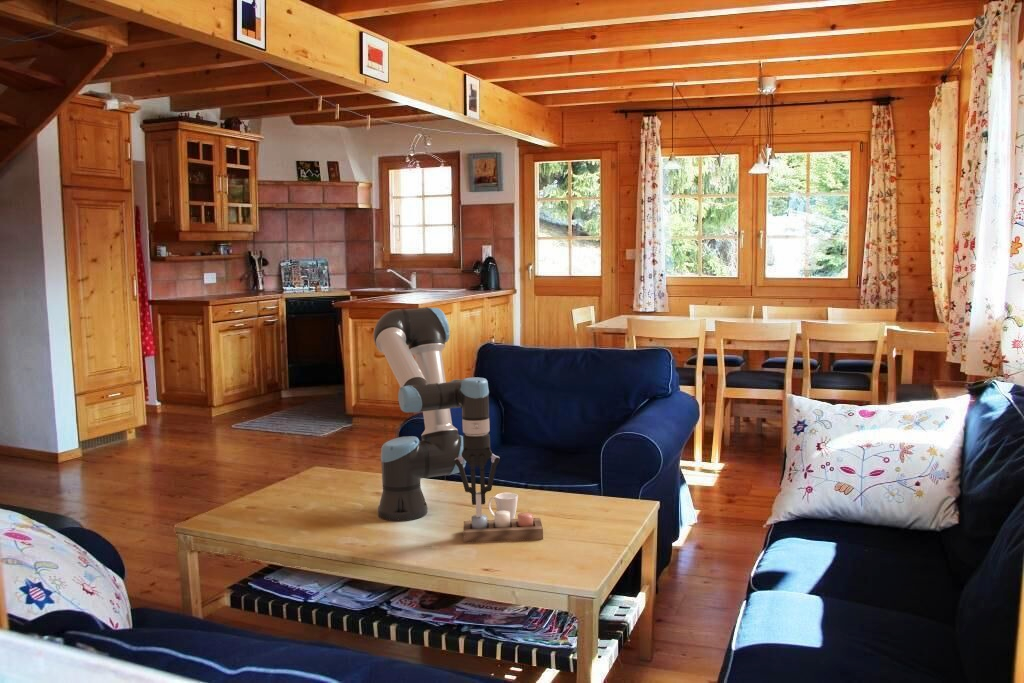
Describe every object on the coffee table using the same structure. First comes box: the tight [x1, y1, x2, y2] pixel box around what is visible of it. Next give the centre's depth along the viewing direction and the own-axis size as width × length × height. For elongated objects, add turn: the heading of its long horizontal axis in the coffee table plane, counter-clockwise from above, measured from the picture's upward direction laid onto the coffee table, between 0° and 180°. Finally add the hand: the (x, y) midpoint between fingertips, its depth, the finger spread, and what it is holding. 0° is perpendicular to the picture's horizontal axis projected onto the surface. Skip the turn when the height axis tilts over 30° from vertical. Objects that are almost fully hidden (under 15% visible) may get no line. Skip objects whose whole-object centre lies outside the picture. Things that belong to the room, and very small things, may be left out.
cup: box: [488, 492, 519, 519], centre depth 258 cm, size 7×10×8 cm
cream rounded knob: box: [493, 510, 510, 528], centre depth 246 cm, size 4×4×4 cm
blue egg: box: [470, 514, 488, 529], centre depth 245 cm, size 4×4×4 cm
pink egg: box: [517, 512, 534, 527], centre depth 246 cm, size 4×4×4 cm
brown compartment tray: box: [463, 517, 544, 544], centre depth 246 cm, size 22×10×3 cm, turn 93°
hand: (479, 515), depth 245 cm, fingers closed
